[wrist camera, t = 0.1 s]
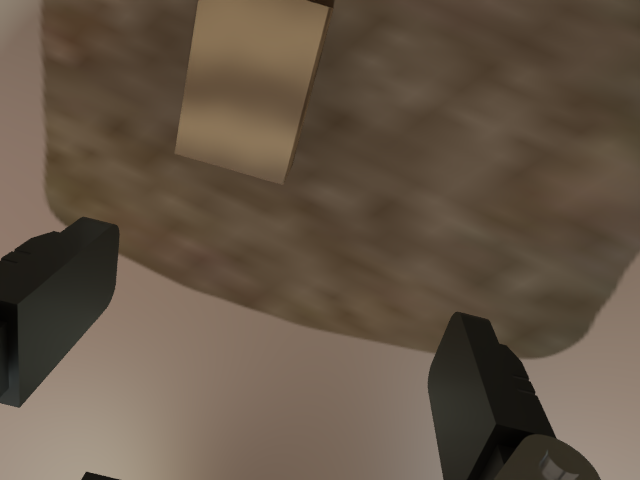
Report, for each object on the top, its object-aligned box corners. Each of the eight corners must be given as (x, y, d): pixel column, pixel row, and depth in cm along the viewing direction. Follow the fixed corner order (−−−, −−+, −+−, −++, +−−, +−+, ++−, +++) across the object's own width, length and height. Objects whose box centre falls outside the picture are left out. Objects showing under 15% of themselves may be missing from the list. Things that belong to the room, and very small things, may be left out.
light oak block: (225, -25, 36) (203, -32, 31) (333, 8, 36) (328, 7, 31) (197, 136, 41) (174, 153, 36) (292, 164, 41) (282, 184, 36)
